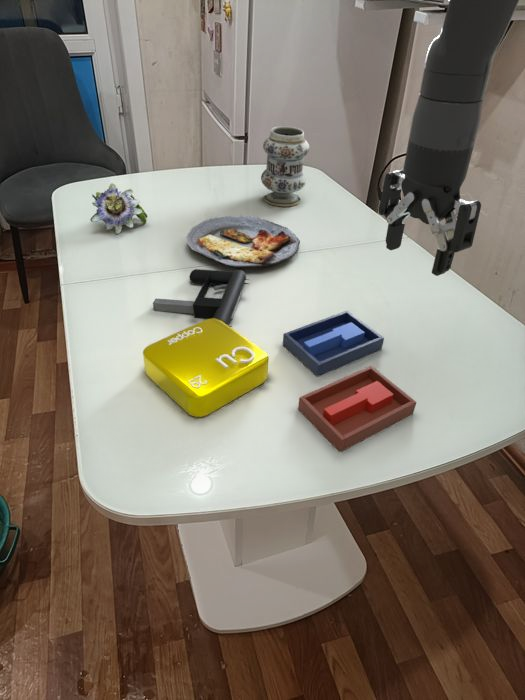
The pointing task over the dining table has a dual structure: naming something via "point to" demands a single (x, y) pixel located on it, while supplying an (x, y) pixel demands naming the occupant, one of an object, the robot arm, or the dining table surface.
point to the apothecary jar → (284, 165)
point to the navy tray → (335, 355)
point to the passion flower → (117, 208)
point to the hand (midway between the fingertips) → (414, 260)
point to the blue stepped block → (335, 339)
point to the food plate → (243, 241)
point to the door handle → (209, 306)
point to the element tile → (205, 366)
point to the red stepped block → (359, 403)
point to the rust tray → (361, 422)
